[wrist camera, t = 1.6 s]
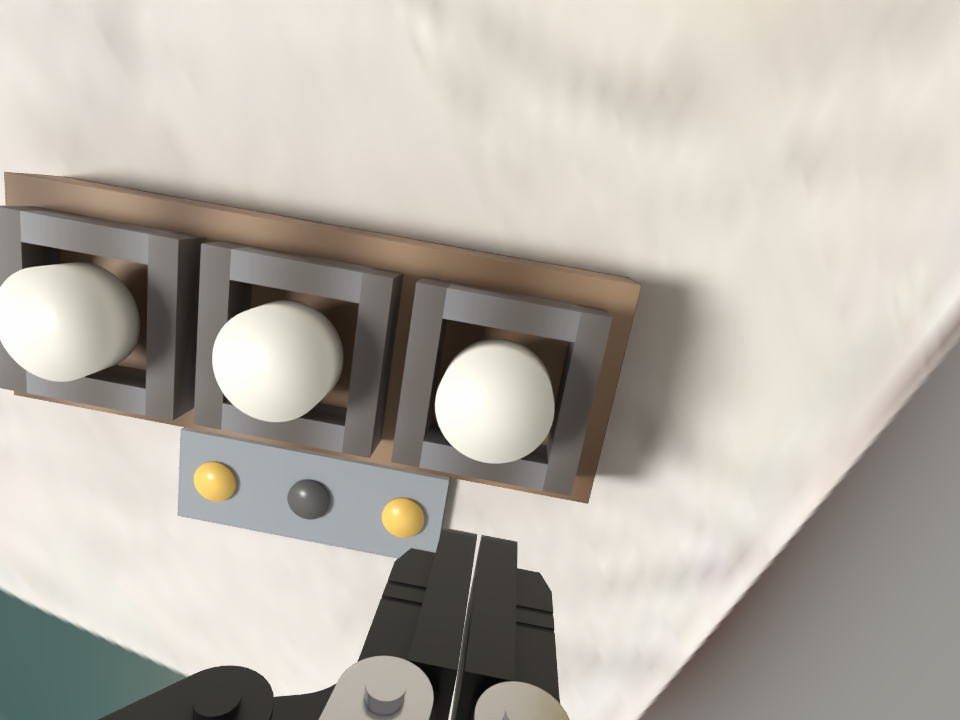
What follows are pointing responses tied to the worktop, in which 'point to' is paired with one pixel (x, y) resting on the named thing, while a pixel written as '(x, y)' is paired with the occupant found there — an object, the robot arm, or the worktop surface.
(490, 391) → the button right
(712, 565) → the worktop surface
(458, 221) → the worktop surface
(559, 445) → the button board
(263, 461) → the pattern card
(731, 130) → the worktop surface
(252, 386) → the button middle
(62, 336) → the button left
